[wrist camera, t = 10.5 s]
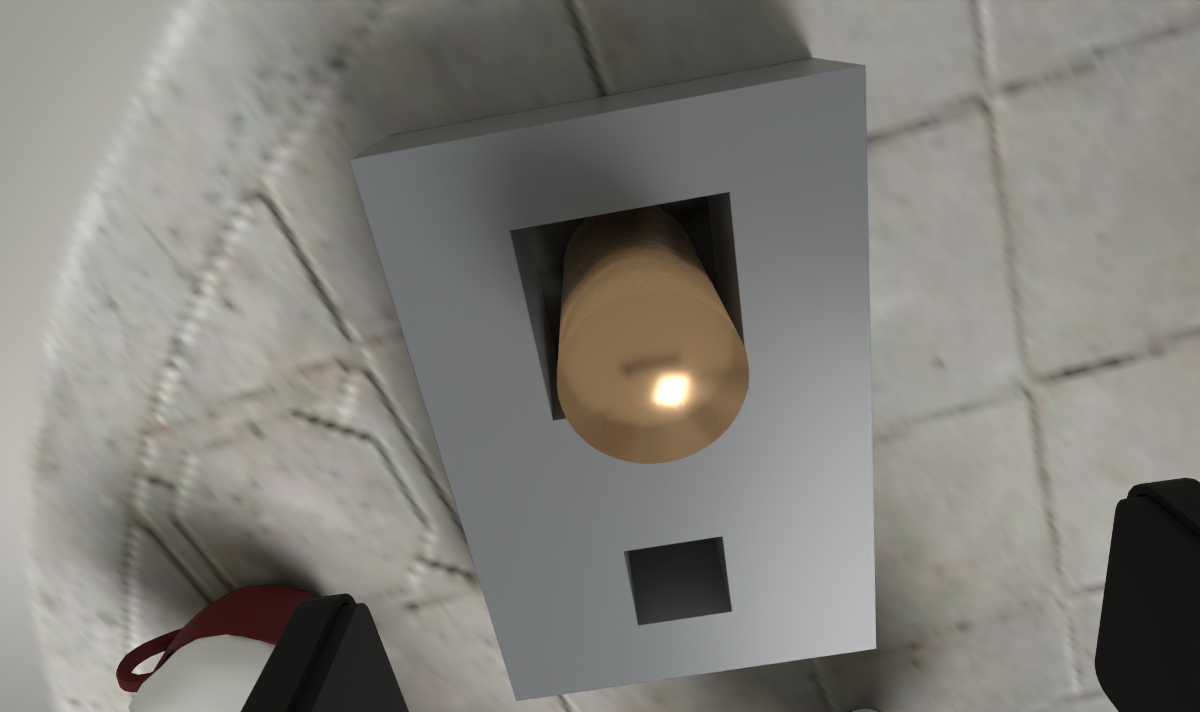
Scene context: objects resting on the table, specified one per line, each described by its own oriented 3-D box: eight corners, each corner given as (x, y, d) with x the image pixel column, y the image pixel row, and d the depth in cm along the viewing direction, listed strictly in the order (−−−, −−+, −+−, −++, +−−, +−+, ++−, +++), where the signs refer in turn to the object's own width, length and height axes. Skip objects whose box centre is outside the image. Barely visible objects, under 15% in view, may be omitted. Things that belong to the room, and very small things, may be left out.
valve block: (813, 58, 20) (865, 65, 16) (837, 565, 28) (875, 648, 24) (389, 135, 21) (349, 159, 17) (524, 613, 28) (516, 700, 24)
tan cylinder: (685, 190, 22) (739, 275, 14) (701, 314, 23) (756, 448, 16) (552, 213, 22) (538, 310, 14) (576, 335, 23) (576, 477, 16)
